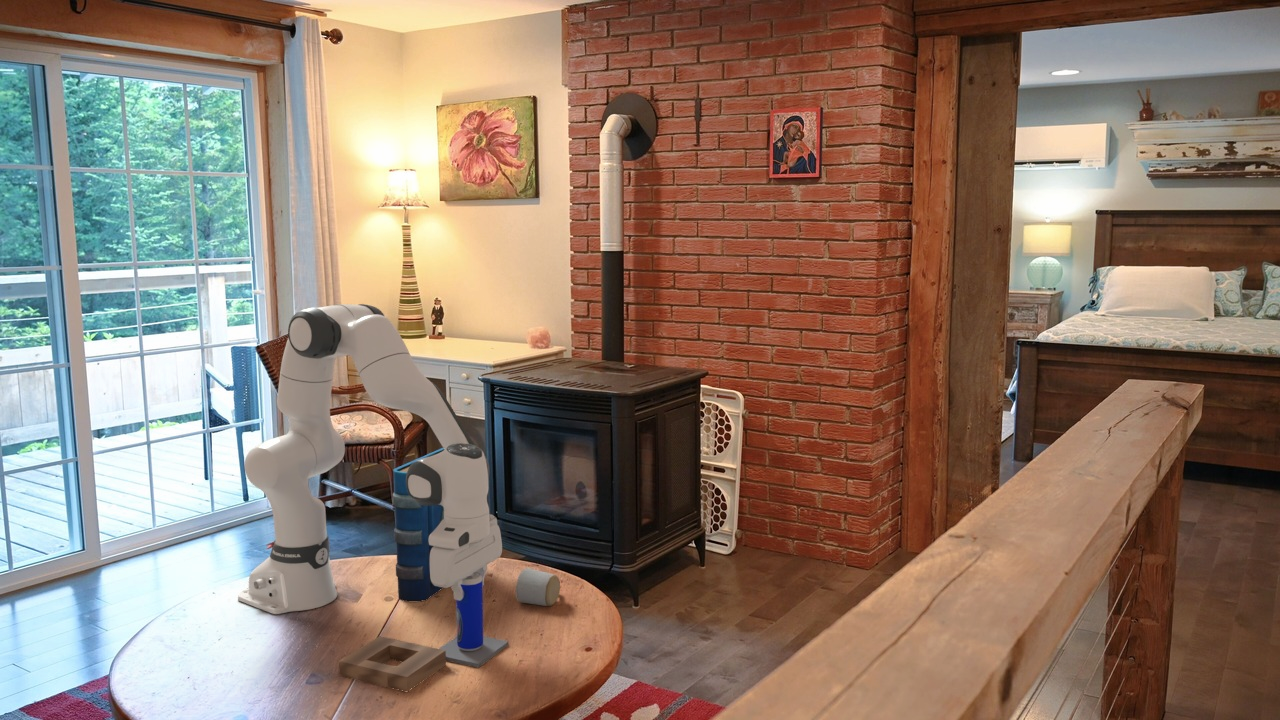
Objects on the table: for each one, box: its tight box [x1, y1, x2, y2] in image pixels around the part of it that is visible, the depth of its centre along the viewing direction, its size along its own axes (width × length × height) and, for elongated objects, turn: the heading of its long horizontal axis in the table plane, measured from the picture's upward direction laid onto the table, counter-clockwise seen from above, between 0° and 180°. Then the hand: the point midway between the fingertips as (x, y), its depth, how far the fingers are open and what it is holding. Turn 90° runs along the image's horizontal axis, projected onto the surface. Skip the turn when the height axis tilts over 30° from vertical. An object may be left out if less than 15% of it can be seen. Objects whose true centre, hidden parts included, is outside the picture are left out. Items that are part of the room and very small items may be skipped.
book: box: [392, 447, 444, 602], centre depth 226 cm, size 24×9×30 cm, turn 161°
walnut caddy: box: [338, 635, 447, 692], centre depth 184 cm, size 16×12×3 cm
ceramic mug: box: [515, 567, 561, 607], centre depth 218 cm, size 11×8×8 cm
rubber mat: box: [438, 635, 510, 669], centre depth 193 cm, size 11×11×1 cm
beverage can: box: [456, 571, 484, 651], centre depth 192 cm, size 5×5×15 cm
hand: (469, 593), depth 191 cm, fingers closed on beverage can, 5 cm apart
